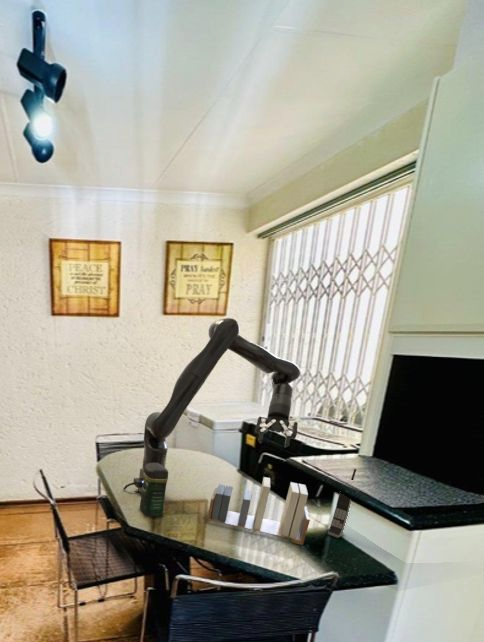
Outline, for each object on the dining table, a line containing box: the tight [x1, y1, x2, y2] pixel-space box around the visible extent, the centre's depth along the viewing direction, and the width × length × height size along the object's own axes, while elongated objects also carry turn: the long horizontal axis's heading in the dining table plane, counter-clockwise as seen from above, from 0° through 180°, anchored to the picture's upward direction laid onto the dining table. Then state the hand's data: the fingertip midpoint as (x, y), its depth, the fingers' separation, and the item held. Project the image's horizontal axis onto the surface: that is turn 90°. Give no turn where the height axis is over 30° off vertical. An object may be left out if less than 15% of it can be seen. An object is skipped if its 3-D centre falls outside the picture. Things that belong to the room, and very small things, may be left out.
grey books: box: [211, 483, 253, 526], centre depth 141 cm, size 12×10×10 cm
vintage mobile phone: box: [327, 468, 357, 539], centre depth 135 cm, size 4×5×25 cm
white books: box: [279, 481, 309, 538], centre depth 134 cm, size 5×10×16 cm, turn 159°
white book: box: [254, 476, 271, 530], centre depth 137 cm, size 2×10×16 cm, turn 159°
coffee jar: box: [139, 463, 169, 518], centre depth 141 cm, size 10×8×19 cm
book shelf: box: [206, 487, 311, 546], centre depth 139 cm, size 32×12×10 cm, turn 69°
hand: (273, 444), depth 141 cm, fingers open, 8 cm apart
